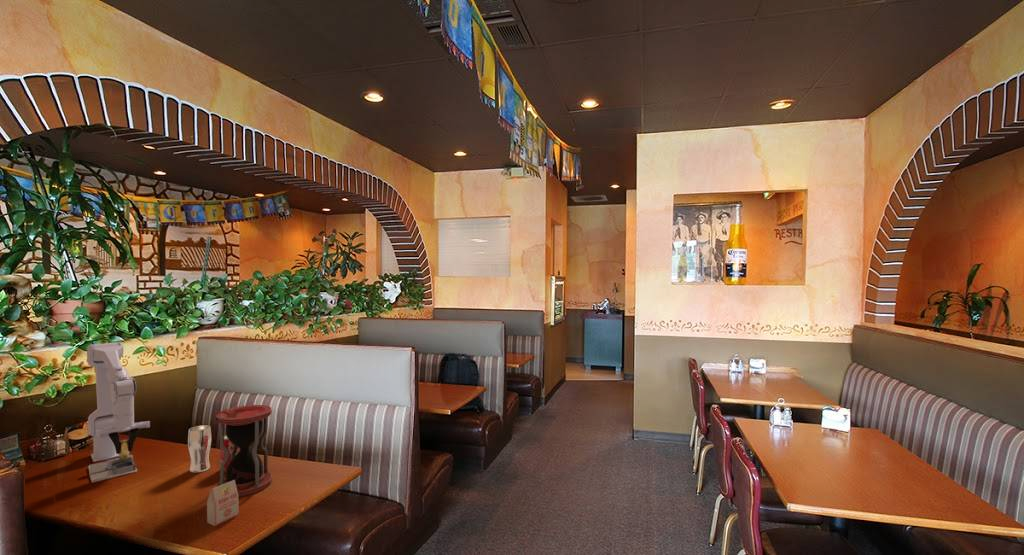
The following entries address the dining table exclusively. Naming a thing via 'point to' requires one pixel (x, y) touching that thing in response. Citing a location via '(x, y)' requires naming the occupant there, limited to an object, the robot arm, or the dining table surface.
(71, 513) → the dining table surface
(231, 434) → the hourglass
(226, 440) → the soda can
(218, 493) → the white printed box
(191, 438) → the beer glass
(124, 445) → the brass pin
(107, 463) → the grey slotted holder
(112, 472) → the hinge base
